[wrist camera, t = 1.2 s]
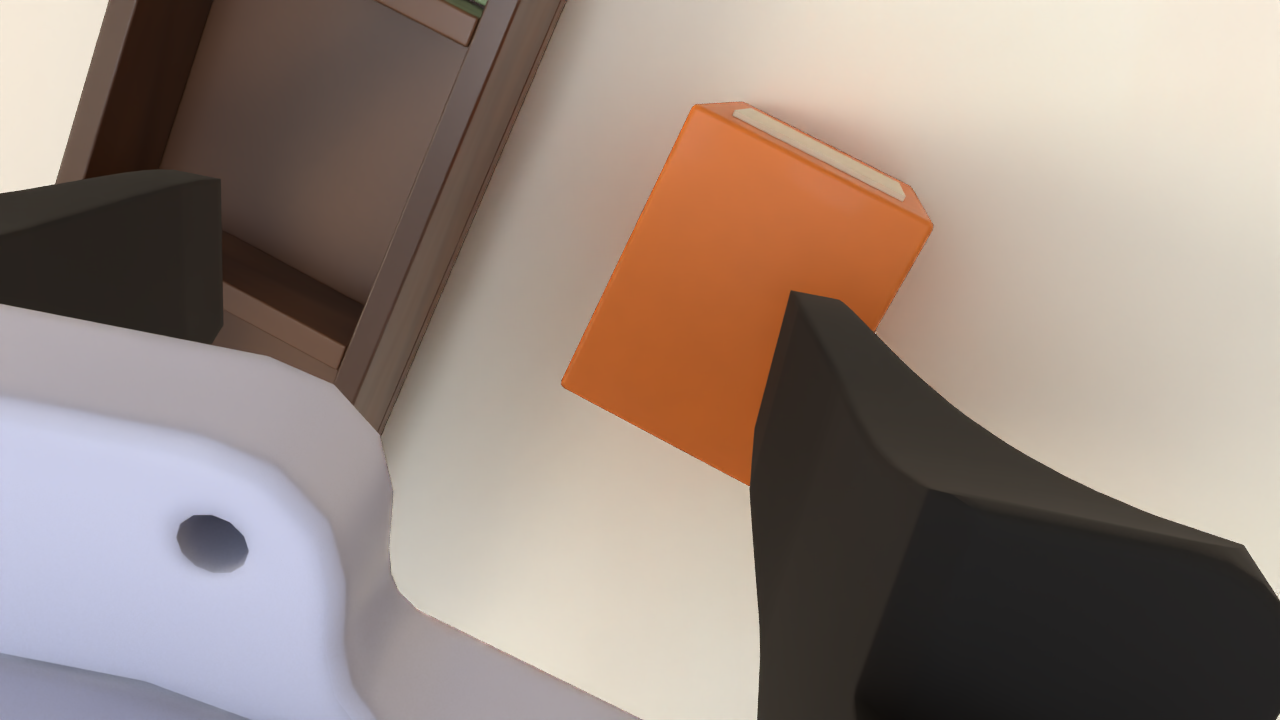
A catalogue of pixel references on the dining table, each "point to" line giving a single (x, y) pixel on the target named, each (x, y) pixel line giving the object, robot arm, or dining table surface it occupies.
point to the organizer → (319, 156)
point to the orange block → (737, 275)
